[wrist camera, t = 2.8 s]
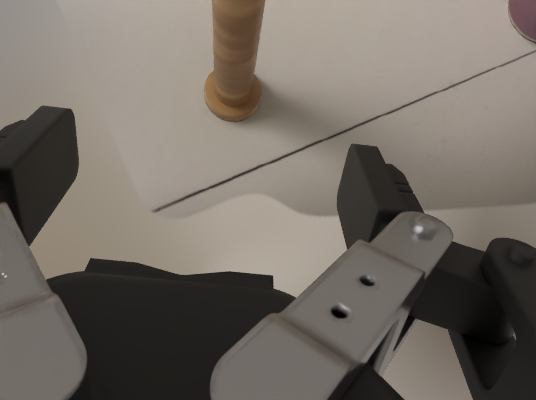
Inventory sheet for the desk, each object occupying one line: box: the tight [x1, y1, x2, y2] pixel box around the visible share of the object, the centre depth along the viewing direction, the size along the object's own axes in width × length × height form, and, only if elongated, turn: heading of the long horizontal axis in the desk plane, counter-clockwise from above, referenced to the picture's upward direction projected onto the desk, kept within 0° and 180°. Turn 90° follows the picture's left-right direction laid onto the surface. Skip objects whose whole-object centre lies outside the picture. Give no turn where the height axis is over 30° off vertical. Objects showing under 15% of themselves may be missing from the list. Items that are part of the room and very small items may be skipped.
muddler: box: [205, 0, 265, 121], centre depth 27 cm, size 4×4×13 cm
